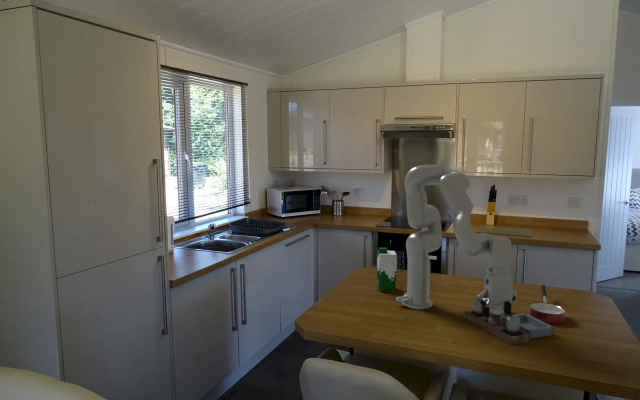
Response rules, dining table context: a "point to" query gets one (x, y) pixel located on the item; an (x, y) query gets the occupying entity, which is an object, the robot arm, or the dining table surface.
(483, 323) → the socket rack
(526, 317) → the tray
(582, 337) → the dining table surface
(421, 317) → the dining table surface
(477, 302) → the peg
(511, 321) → the peg
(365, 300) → the dining table surface
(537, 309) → the frying pan
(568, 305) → the dining table surface
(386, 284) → the milk carton
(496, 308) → the pill bottle
